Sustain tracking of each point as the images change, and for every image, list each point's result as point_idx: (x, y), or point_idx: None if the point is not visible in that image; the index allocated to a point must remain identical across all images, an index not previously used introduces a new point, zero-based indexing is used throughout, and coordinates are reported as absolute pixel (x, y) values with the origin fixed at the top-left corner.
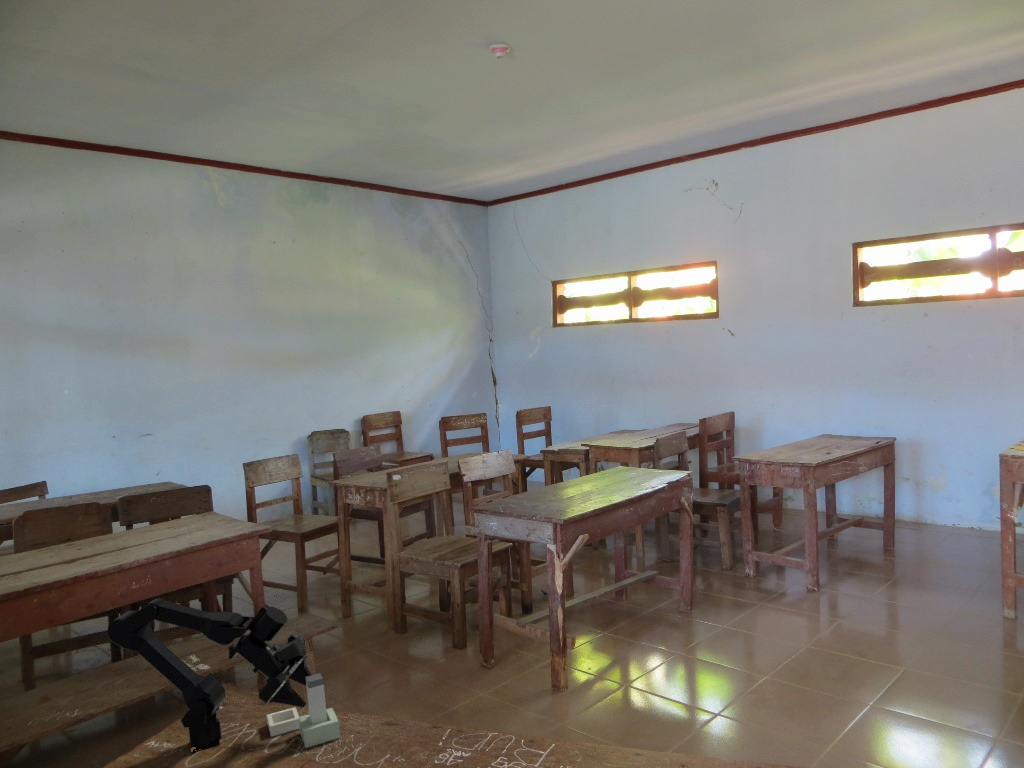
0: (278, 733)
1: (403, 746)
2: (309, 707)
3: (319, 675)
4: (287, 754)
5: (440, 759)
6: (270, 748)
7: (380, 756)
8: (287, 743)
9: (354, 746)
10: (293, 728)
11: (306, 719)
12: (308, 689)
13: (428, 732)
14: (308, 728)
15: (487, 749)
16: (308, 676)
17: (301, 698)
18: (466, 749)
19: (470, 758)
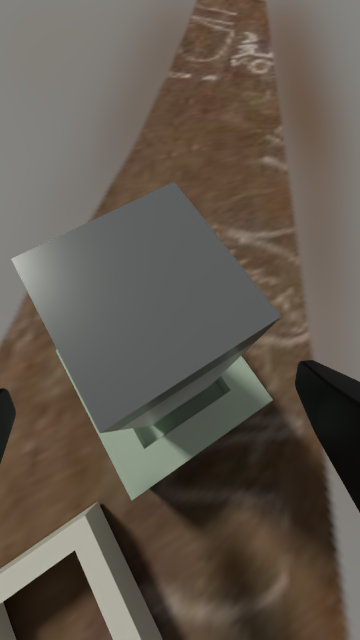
0: (143, 604)
1: (225, 138)
2: (182, 400)
3: (87, 243)
4: (292, 464)
5: (274, 69)
6: (254, 579)
7: (274, 174)
8: (213, 508)
9: (228, 249)
10: (110, 535)
11: (163, 437)
12: (250, 345)
13: (160, 104)
14: (250, 386)
15: (232, 13)
16: (92, 385)
17: (339, 383)
18: (234, 38)
19: (266, 30)
